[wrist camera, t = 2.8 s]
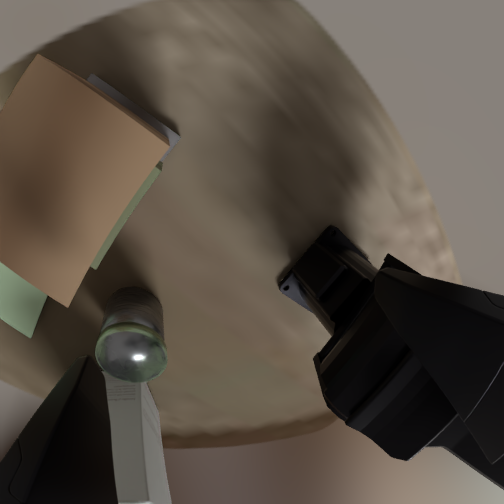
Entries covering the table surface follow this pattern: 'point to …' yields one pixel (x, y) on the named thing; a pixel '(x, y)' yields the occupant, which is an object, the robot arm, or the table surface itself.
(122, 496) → the supplement box
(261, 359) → the table surface
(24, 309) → the sage mat
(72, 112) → the tan box
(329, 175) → the table surface
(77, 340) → the table surface
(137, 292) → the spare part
